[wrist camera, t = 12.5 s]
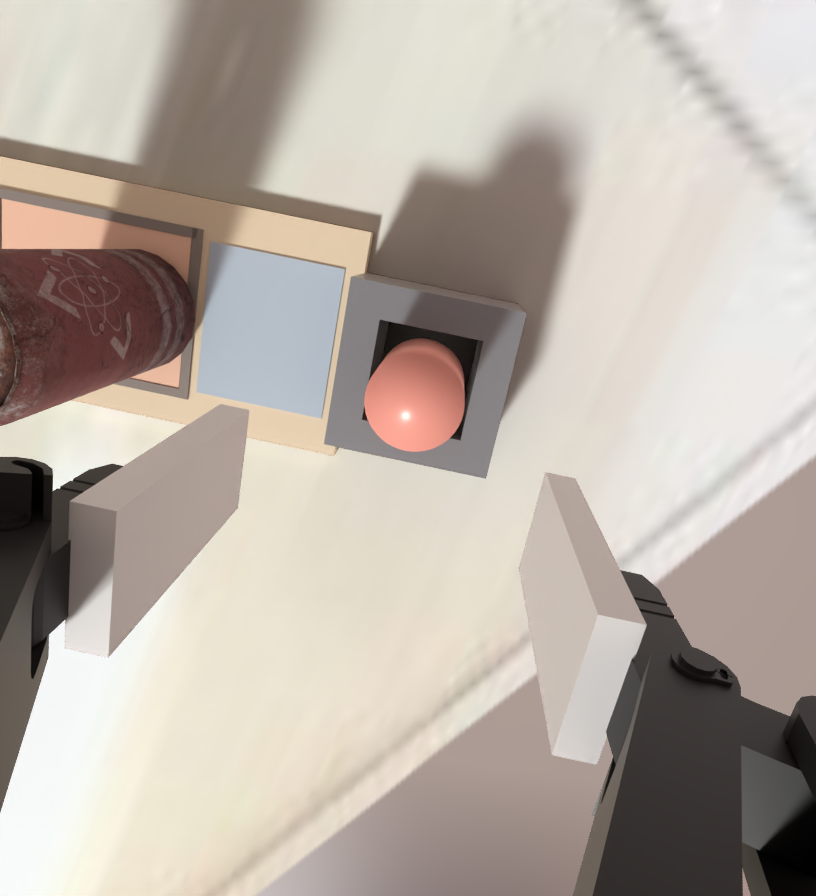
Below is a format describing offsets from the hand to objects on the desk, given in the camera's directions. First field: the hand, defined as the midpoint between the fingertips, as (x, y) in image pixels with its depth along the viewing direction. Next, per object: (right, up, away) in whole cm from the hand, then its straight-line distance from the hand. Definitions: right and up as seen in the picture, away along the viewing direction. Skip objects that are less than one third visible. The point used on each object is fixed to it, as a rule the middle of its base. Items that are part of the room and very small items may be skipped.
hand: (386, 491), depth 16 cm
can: (-14, +9, +18) cm, 24 cm away
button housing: (+2, +6, +18) cm, 19 cm away
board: (-13, +9, +18) cm, 24 cm away
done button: (+1, +4, +14) cm, 14 cm away
